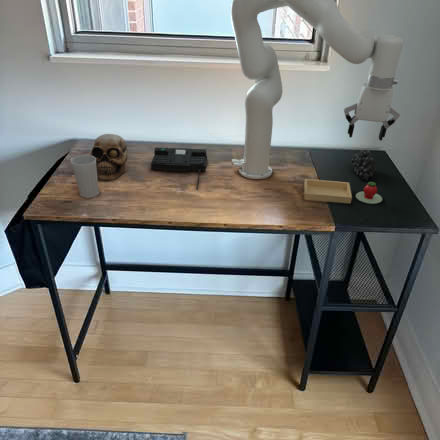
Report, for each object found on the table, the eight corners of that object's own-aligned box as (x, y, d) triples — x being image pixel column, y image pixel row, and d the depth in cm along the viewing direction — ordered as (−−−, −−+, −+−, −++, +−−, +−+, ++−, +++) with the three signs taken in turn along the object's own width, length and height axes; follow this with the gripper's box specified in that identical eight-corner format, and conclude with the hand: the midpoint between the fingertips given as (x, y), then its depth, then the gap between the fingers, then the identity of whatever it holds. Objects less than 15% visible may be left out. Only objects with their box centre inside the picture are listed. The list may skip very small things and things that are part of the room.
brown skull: (101, 182, 159) (95, 144, 152) (84, 170, 171) (77, 134, 164) (141, 173, 167) (137, 137, 160) (121, 162, 179) (117, 128, 172)
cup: (105, 190, 155) (100, 157, 148) (93, 200, 149) (87, 166, 142) (85, 186, 157) (79, 153, 149) (72, 196, 151) (65, 162, 144)
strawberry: (362, 199, 153) (366, 185, 150) (361, 193, 156) (364, 180, 153) (375, 200, 153) (379, 186, 149) (374, 194, 156) (377, 181, 153)
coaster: (356, 203, 152) (356, 202, 151) (354, 191, 159) (354, 190, 158) (383, 206, 151) (384, 204, 151) (380, 194, 158) (380, 192, 158)
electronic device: (144, 187, 158) (143, 174, 154) (157, 154, 181) (156, 142, 178) (203, 189, 157) (203, 176, 154) (207, 156, 181) (208, 143, 178)
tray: (303, 200, 153) (305, 193, 151) (303, 186, 161) (304, 178, 160) (350, 204, 151) (352, 197, 149) (347, 189, 160) (349, 182, 158)
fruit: (376, 161, 158) (372, 144, 169) (352, 166, 160) (349, 149, 171) (379, 183, 163) (374, 165, 174) (355, 187, 165) (352, 170, 176)
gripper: (406, 81, 138) (390, 136, 149) (349, 76, 139) (337, 130, 150) (410, 87, 132) (393, 144, 143) (351, 82, 133) (339, 139, 144)
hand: (365, 137), depth 146 cm, fingers open, 9 cm apart
